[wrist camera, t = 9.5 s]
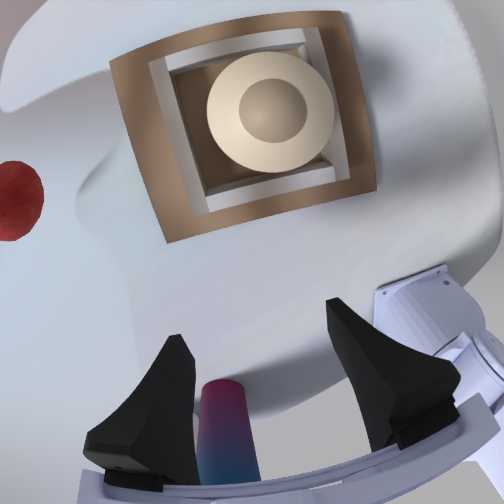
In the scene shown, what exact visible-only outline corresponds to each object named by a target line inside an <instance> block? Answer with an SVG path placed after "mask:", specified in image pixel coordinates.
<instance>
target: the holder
mask: <svg viewBox="0 0 504 504" xmlns="http://www.w3.org/2000/svg"><path fill="white" fill-rule="evenodd" d="M268 51H269V52H280V53H286V54H289V55H292V56H295V57H297V58H299V59H301V60H303V61H304V62H306V63H308V64H309V65H310V66H312V67H313V68H314V69H315V70H316V71H317V72H318V73H319V74H320V75H321V77H322V78H323V79H324V81H325V82H326V84H327V86H328V88H329V90H330V92H331V95H332V98H333V102H334V110H335V115H334V125H333V129H332V132H331V135H330V137H329V139H328V141H327V143H326V144H325V146H324V147H323V149H322V150H321V151H320V152H319V153H318V154H317V155H316V156H315V157H314V158H313V159H311V160H310V161H309V162H307V163H306V164H304V165H302V166H300V167H297V168H295V169H292V170H288V171H284V172H261V171H256V170H252V169H250V168H247V167H244V166H243V165H241V164H239V163H237V162H235V161H234V160H233V159H231V158H230V157H229V156H228V155H227V154H225V153H224V151H223V150H222V149H221V148H220V147H219V145H218V144H217V142H216V141H215V139H214V137H213V135H212V133H211V130H210V127H209V124H208V118H207V103H208V97H209V94H210V91H211V88H212V86H213V84H214V82H215V81H216V79H217V77H218V76H219V75H220V74H221V72H222V71H223V70H224V69H225V68H227V67H228V66H229V65H230V64H231V63H233V62H234V61H236V60H238V59H240V58H242V57H244V56H247V55H250V54H253V53H258V52H268ZM109 64H110V68H111V72H112V77H113V80H114V85H115V88H116V92H117V96H118V100H119V104H120V107H121V111H122V115H123V118H124V121H125V125H126V128H127V132H128V135H129V138H130V142H131V145H132V148H133V151H134V154H135V157H136V160H137V163H138V166H139V169H140V172H141V175H142V178H143V181H144V184H145V187H146V189H147V192H148V195H149V198H150V201H151V203H152V206H153V209H154V211H155V214H156V217H157V219H158V222H159V224H160V227H161V229H162V232H163V235H164V237H165V240H166V242H167V244H168V243H172V242H175V241H179V240H182V239H186V238H189V237H193V236H196V235H200V234H204V233H207V232H211V231H215V230H218V229H222V228H226V227H229V226H233V225H237V224H241V223H245V222H248V221H252V220H256V219H260V218H264V217H268V216H272V215H276V214H280V213H284V212H288V211H292V210H296V209H300V208H304V207H308V206H312V205H316V204H320V203H325V202H329V201H333V200H337V199H342V198H346V197H351V196H355V195H359V194H364V193H368V192H373V191H377V186H376V175H375V165H374V156H373V148H372V141H371V134H370V128H369V121H368V116H367V110H366V105H365V99H364V94H363V90H362V85H361V81H360V76H359V72H358V68H357V64H356V60H355V56H354V52H353V49H352V45H351V42H350V38H349V35H348V32H347V29H346V25H345V22H344V19H343V16H342V13H341V11H299V12H285V13H275V14H266V15H259V16H252V17H246V18H240V19H235V20H230V21H225V22H220V23H216V24H212V25H207V26H204V27H200V28H196V29H192V30H189V31H186V32H182V33H179V34H176V35H173V36H170V37H167V38H164V39H161V40H158V41H156V42H153V43H150V44H148V45H145V46H142V47H140V48H138V49H135V50H133V51H130V52H128V53H126V54H124V55H121V56H119V57H117V58H115V59H113V60H111V61H109Z"/></svg>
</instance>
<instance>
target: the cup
mask: <svg viewBox="0 0 504 504" xmlns="http://www.w3.org/2000/svg"><path fill="white" fill-rule="evenodd" d="M196 460H197V467H198V472H199V477H200V482H201V486H204V485H227V484H240V483H249V482H258V481H261V477H260V472H259V467H258V463H257V458H256V452H255V447H254V442H253V437H252V432H251V426H250V421H249V415H248V410H247V404H246V399H245V393H244V388H243V387H242V386H241V385H240V384H239V383H237V382H234V381H231V380H215V381H211V382H209V383H207V384H206V385H204V387H203V388H202V394H201V404H200V414H199V425H198V435H197V447H196ZM212 501H214V500H212Z"/></svg>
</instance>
